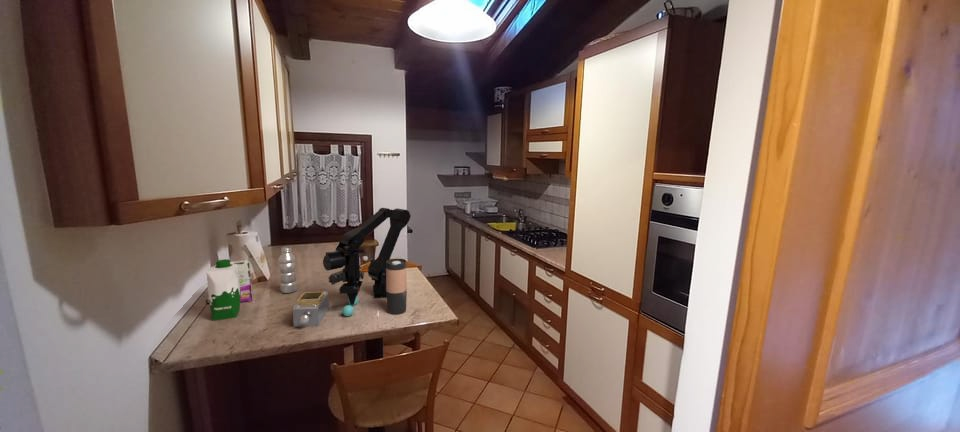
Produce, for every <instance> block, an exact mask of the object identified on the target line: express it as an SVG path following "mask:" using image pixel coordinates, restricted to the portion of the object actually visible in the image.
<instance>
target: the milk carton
mask: <svg viewBox="0 0 960 432" xmlns="http://www.w3.org/2000/svg"><path fill="white" fill-rule="evenodd" d="M230 261H231V260H230V259H228V258H227V259H226V258H225V259H218V260H216V261H215V264H216V266H215V265H212V266H211V267H210V268H209V269H208V270H207V272H206V281H207V294H208V301H209V308H210V314H211V318H212V321H213V320H214V321H218V320H219V321H220V320H226V319H233V318H237V317H238V314H239V312H240V310H241V308H240V307H241V302H240V286H239V276H238V267H237V264H230Z"/></svg>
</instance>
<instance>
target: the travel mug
mask: <svg viewBox="0 0 960 432" xmlns="http://www.w3.org/2000/svg"><path fill="white" fill-rule="evenodd" d="M407 275H408V274H407V260H406V259H404V258H390V260H387V261H386V294H387V297H386V307H387V309H386V310H387V313H388V314H389V315H392V316H393V315H394V316H395V315H396V316H397V315H402V314H404V313H405V312H406V311H407V295H408V294H407V293H408V292H407V290H408V285H407V284H408V282H407V277H408V276H407Z"/></svg>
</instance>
